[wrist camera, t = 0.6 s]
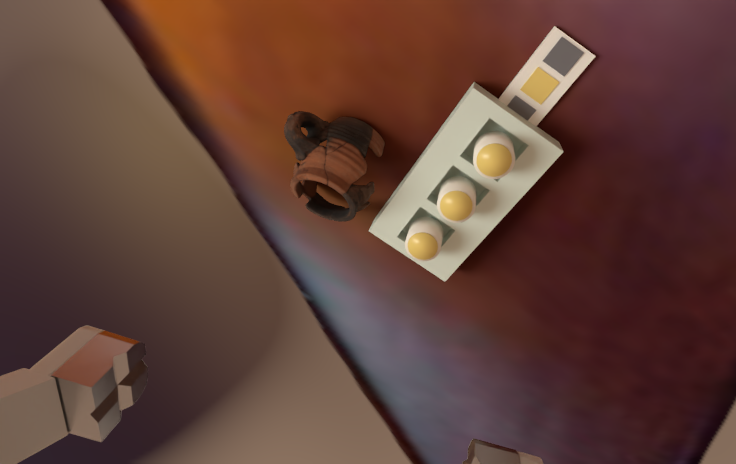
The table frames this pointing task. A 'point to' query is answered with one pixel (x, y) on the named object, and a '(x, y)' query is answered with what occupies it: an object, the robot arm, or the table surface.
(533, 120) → the card
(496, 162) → the button
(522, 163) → the button board
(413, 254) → the button
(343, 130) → the pottery mug
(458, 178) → the button
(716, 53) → the table surface
